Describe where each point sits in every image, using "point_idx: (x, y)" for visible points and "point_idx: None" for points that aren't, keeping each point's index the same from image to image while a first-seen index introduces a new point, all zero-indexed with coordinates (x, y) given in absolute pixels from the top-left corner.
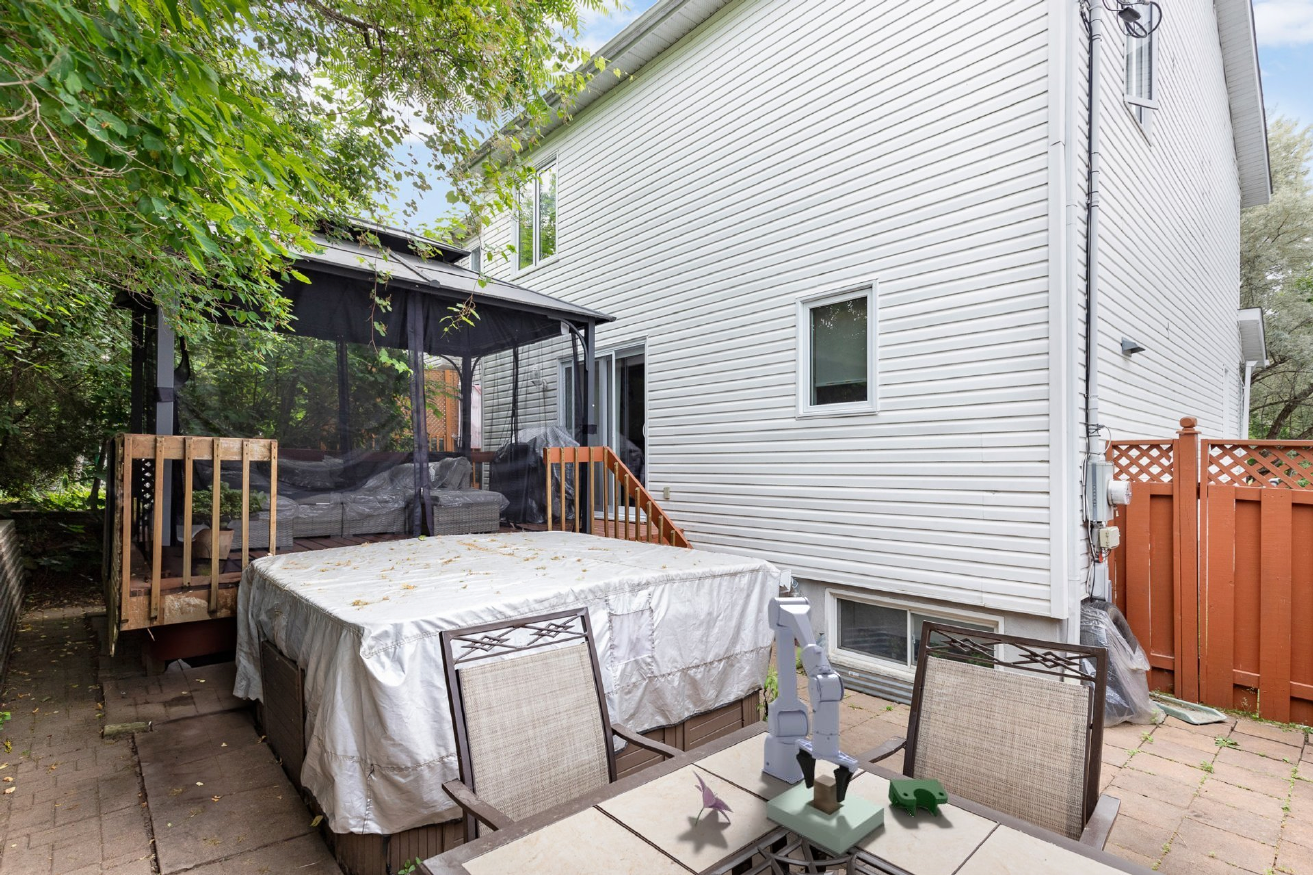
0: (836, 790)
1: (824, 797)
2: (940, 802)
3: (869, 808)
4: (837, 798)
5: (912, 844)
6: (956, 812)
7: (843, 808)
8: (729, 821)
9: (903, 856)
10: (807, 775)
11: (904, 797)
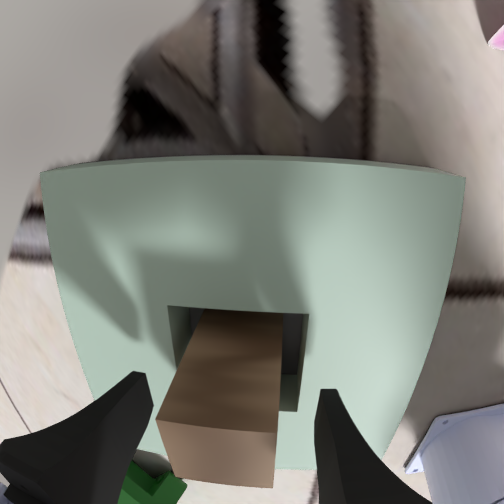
0: (112, 405)
1: (208, 372)
2: None
3: None
4: (131, 381)
5: (46, 366)
6: None
7: (170, 383)
8: (494, 38)
9: (20, 307)
10: (331, 443)
11: None
